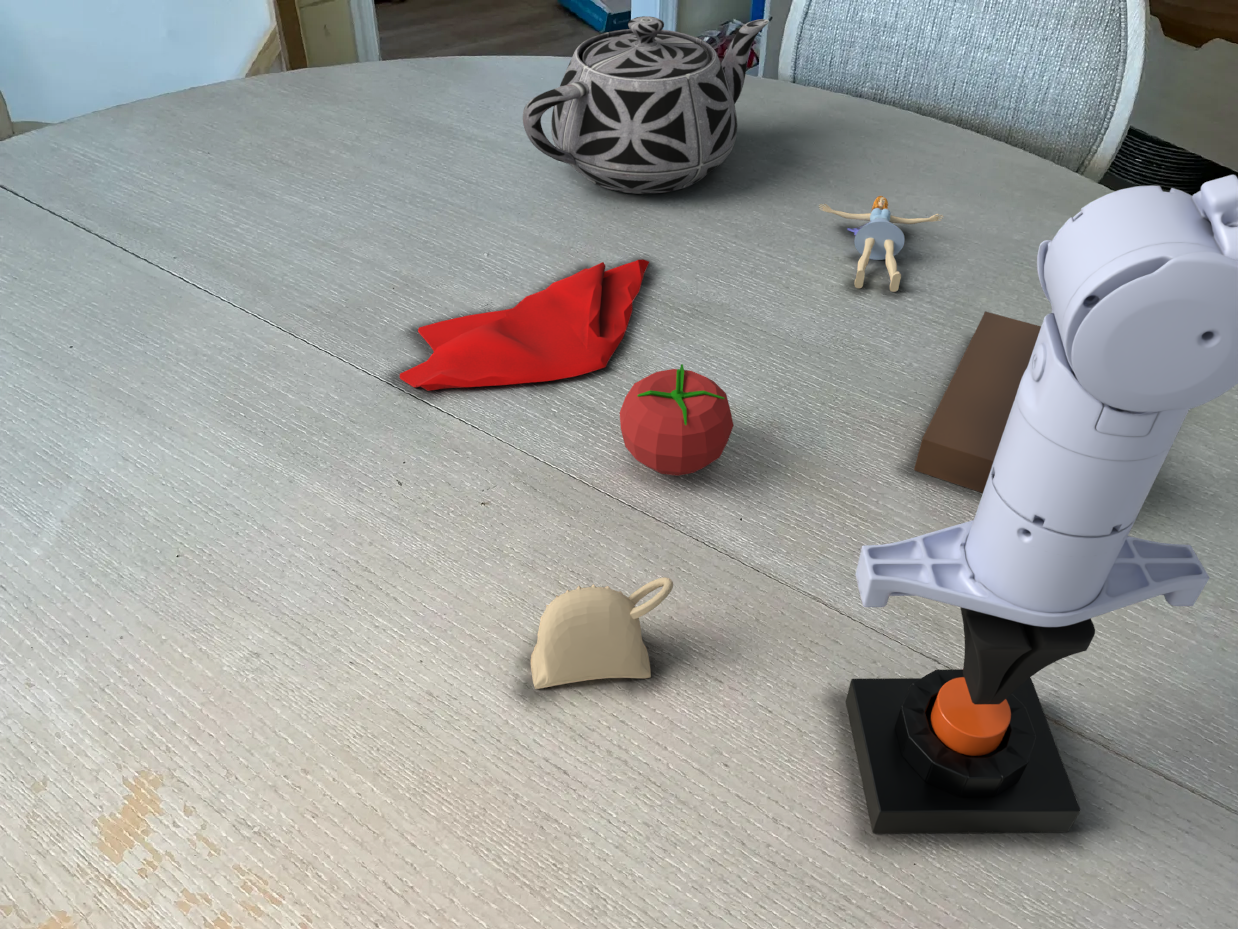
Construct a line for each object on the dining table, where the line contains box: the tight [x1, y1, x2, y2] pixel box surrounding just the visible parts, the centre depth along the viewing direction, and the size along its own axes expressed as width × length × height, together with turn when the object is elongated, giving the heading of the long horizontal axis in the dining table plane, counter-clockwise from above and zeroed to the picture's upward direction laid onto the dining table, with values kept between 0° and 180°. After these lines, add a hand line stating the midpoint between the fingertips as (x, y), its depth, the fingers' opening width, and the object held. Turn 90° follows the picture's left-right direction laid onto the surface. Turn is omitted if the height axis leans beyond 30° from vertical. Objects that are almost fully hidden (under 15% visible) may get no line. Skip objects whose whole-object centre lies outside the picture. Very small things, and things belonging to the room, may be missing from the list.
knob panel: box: [913, 311, 1042, 494], centre depth 74 cm, size 14×20×3 cm
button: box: [931, 677, 1011, 756], centre depth 51 cm, size 4×4×2 cm
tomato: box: [619, 363, 735, 477], centre depth 70 cm, size 8×8×8 cm
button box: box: [845, 668, 1081, 834], centre depth 53 cm, size 10×8×4 cm
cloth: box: [399, 258, 650, 392], centre depth 83 cm, size 26×14×2 cm, turn 124°
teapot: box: [522, 15, 769, 195], centre depth 103 cm, size 19×31×15 cm, turn 127°
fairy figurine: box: [818, 195, 945, 293], centre depth 92 cm, size 12×5×12 cm
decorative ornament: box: [530, 576, 674, 690], centre depth 58 cm, size 4×8×5 cm, turn 95°
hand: (981, 687), depth 50 cm, fingers closed
